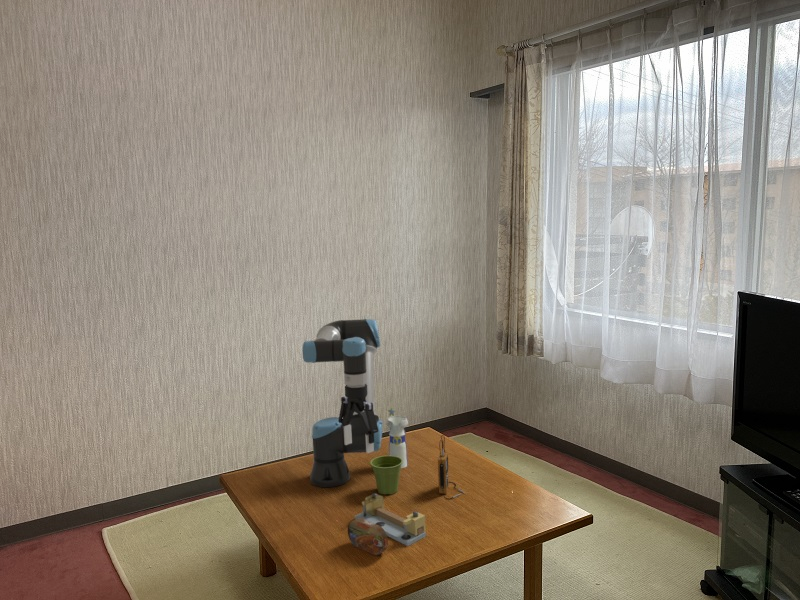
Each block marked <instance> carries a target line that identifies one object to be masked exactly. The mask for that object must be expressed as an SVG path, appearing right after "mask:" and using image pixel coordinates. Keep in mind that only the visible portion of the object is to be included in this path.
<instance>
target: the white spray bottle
mask: <svg viewBox="0 0 800 600" xmlns="http://www.w3.org/2000/svg"><path fill="white" fill-rule="evenodd" d="M387 411H388V413H389V415H388V416H389V417H388V418H387V422H386V426H388V428H389V431H388V435H389V442H388V456H397V457H400V458H401V459H402V460H403V462H402V464H401V469H404V468H407V467H408V466H409V462H408V461H409V460H408V449H407V441H406V434H407V433H406V429H405V428H406V427H407V426H408V425H409V421H408V419H407V417H406V416H403V415H395V414H394V413H395V412H396V410H394V409H393V408H392V407H391V408H390V409H387Z"/></svg>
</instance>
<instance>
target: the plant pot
mask: <svg viewBox="0 0 800 600" xmlns="http://www.w3.org/2000/svg"><path fill="white" fill-rule="evenodd" d="M402 462H403V460H402V459H401V458H400V457H397V456H389V455H380V456H377V457H376V456H375V457H374V458H372V459H371V460H370V462H369V464H370V466H371V468H372V470H373V473H374V479H375V483H376V488H377V491H378V493H379V494H381V495H393V494H395V493H397V492H398V490H399V481H400V475H401V469H402V468H401V464H402Z"/></svg>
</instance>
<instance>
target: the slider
mask: <svg viewBox="0 0 800 600" xmlns="http://www.w3.org/2000/svg"><path fill="white" fill-rule="evenodd" d="M361 505H362V513H363V516H364V517H365V516H366V512H368V513H370V514H372V515H376V510H375V509H377V508H379V507H381V508H383V509H385V507H384V505H385V504H384V496H383V495H380V494H378V493H377V492H372V493H371V494H370V495H369V496H366V497H365V499H364V500H363V501H361Z"/></svg>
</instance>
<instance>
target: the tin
mask: <svg viewBox="0 0 800 600" xmlns="http://www.w3.org/2000/svg"><path fill="white" fill-rule="evenodd" d="M347 535H348V539H349V541H350V542H351V544H352V545H353V547H355V548H357V549H360V550H362V551H365V552H366V553H369V554H371V555H374V556H380V555H381V554H382V553H384V552H385V551H386V550H387V548H388V546H389V540H388V536H387V534H386V532H385V531H384V529H383V528H382V527H381V526H379V525H376V524H374V523H371V522H369V521H366V520H364V519H360V518H359V519H356V520H355V519H353V520H351V521H349V523H348V525H347Z"/></svg>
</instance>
